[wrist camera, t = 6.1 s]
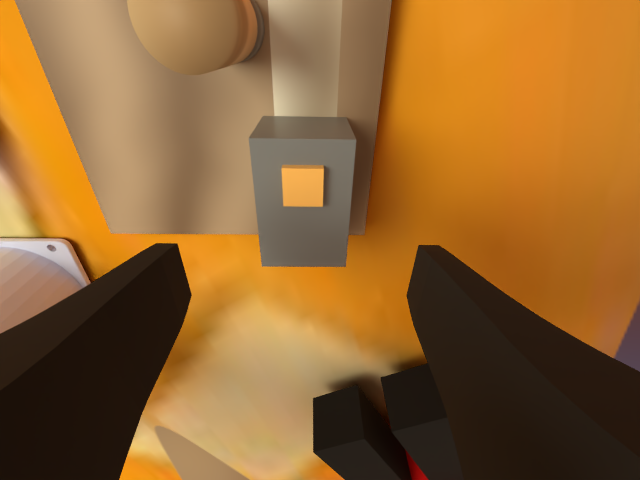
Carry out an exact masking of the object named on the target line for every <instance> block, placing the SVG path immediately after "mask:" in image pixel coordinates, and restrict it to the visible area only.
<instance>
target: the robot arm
mask: <svg viewBox="0 0 640 480" xmlns="http://www.w3.org/2000/svg"><path fill="white" fill-rule="evenodd" d="M54 246H55V247H54ZM190 299H191V291H190V288H189V284H188V280H187V277H186V273H185V270H184V266H183V262H182V259H181V255H180V252H179V248H178V244H170V243H156V244H154V245H152V246H150V247H149V248H147V249H145V250H143V251H142V252H140V253H138V254H137V255H135V256H134V257H132V258H130V259H129V260H127V261H126V262H124V263H122V264H121V265H119V266H118V267H116V268H114V269H113V270H111V271H110V272H108V273H106V274H105V275H103V276H102V277H100V278H98V279H97V280H95V281H94V282H92V283H91V282H90V280H89V278H88V277H87V275H86V273H85V271H84V269H83V267H82V265H81V263H80V261H79V259H78V257H77V255H76V253H75V251H74V249H73V247H72V245H71V244H70V242H68V241H67V240H65V239H49V238H0V480H119V478H120V475H121V472H122V469H123V466H124V463H125V460H126V457H127V454H128V451H129V448H130V446H131V443H132V440H133V437H134V434H135V432H136V429H137V426H138V423H139V420H140V417H141V415H142V412H143V410H144V408H145V405H146V403H147V400H148V398H149V396H150V394H151V392H152V389H153V387H154V385H155V383H156V381H157V379H158V377H159V375H160V372H161V370H162V368H163V366H164V364H165V362H166V360H167V358H168V355H169V353H170V351H171V349H172V347H173V345H174V343H175V340H176V338H177V336H178V334H179V332H180V329H181V327H182V325H183V322H184V319H185V316H186V313H187V309H188V306H189V302H190ZM407 299H408V304H409V308H410V313H411V317H412V321H413V325H414V328H415V330H416V333H417V336H418V338H419V341H420V344H421V346H422V349H423V352H424V354H425V357H426V359H427V362H428V364H429V367H430V370H431V372H432V375H433V377H434V380H435V383H436V385H437V388H438V390H439V393H440V396H441V399H442V402H443V405H444V408H445V410H446V414H447V417H448V421H449V425H450V428H451V432H452V435H453V439H454V443H455V446H456V450H457V454H458V458H459V462H460V466H461V469H462V473H463V477H464V480H640V372H639V371H637V370H635V369H633V368H631V367H629V366H627V365H626V364H624V363H622V362H620V361H618V360H616V359H614V358H612V357H610V356H608V355H606V354H604V353H602V352H600V351H598V350H597V349H595V348H593V347H591V346H589V345H587V344H586V343H584V342H582V341H580V340H579V339H577V338H575V337H573V336H572V335H570V334H568V333H567V332H565V331H563V330H561V329H560V328H558V327H556V326H554V325H553V324H551V323H550V322H548V321H546V320H545V319H543V318H541V317H540V316H538V315H537V314H535V313H534V312H532V311H531V310H529V309H528V308H526V307H525V306H523V305H522V304H520V303H518V302H517V301H515V300H514V299H512V298H511V297H510V296H508V295H507V294H505V293H504V292H502V291H501V290H500V289H498V288H497V287H495V286H494V285H493V284H491V283H490V282H488V281H487V280H486V279H484V278H483V277H482V276H480V275H479V274H478V273H476V272H475V271H474V270H472V269H471V268H470V267H468V266H467V265H466V264H464V263H463V262H462V261H460V260H459V259H458V258H456V257H455V256H454V255H452V254H451V253H449V252H448V251H447V250H445V249H444V248H442V247H441V246H439V245H419V246H418V250H417V254H416V258H415V263H414V267H413V271H412V275H411V279H410V284H409V288H408V292H407Z"/></svg>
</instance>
